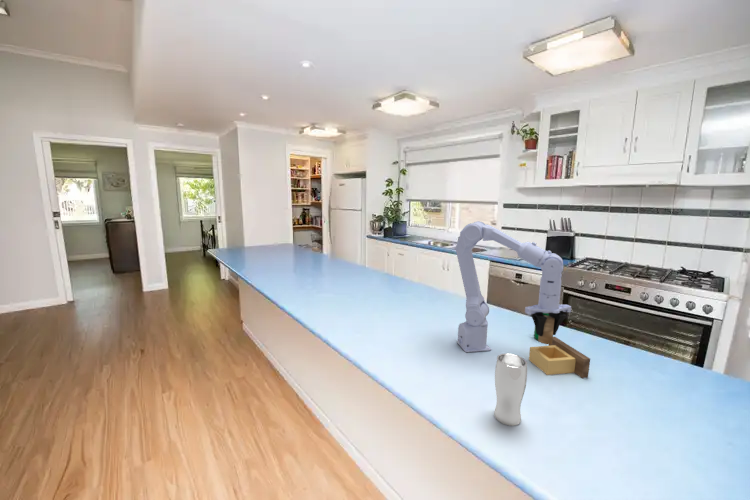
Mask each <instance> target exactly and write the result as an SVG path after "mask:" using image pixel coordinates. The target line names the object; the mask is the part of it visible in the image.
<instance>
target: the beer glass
mask: <svg viewBox="0 0 750 500" xmlns="http://www.w3.org/2000/svg"><path fill="white" fill-rule="evenodd" d="M494 369H495V370H494V371H495V372H494V385H495V393H496V395H495V396H496V404H495V407H494V411H493V416H494V418H495V419H496V420H497V421H498V422H499V423H500V424H503V425H505V426H510V427H514V426H515V427H516V426H519V424H521V422H522V414H521V404H522V401H523V397H524V395H525V391H526V387H527V382H528V381H527V380H528V361H527V360H526V359H525V358H524V357H523V356H520V355H517V354H514V353H501V354H499V355H498V356H497V358H496V364H495V368H494Z"/></svg>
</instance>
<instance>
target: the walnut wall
mask: <svg viewBox="0 0 750 500" xmlns="http://www.w3.org/2000/svg"><path fill="white" fill-rule="evenodd" d="M551 345H556V346H557V347H559V348H560V349H562V350H563V351H565V352H566V353H568V354H569V355H571V356H572V357H574V358H575V359H576V362H575V371H574V373H575V375H577V376H578V377H580V378H582V379H584V378H585V379H587V378H589V374H590V373H589V371H590V363H591V358H590V357H588V356H586V354H584V353H582V352H580V350H579V351H578V350H577V349H576V348H574V347H572V346H570V344H567V343H566V342H565V341H563V340H561V339H559V338H558V337H557V336H553V340H552V344H548V346H551ZM574 373H573V374H574Z"/></svg>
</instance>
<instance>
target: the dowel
mask: <svg viewBox="0 0 750 500" xmlns="http://www.w3.org/2000/svg"><path fill="white" fill-rule="evenodd" d="M544 316H545V317H547V320H546V322H545V325H544V330H543V335H542V336H538V340H537V341H538V342H539V343H541V344H545V345H549V344H552V340H553V337H554V335H553V330H554V319H555V318H553V317H551V316H547V315H544Z"/></svg>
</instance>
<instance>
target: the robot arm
mask: <svg viewBox="0 0 750 500" xmlns="http://www.w3.org/2000/svg"><path fill="white" fill-rule="evenodd" d="M481 240H482V241H483V242H487V241H494V242H496V243H498V244H500V245H502V246H505V247H506V248H509V249H510V250H512V251H514V252H516V253H517V257H518V258H519V259H522V260H523V261H525V262H527V263H529V264H530V265H533V266H534V267H536V268H540V269H541V277H540V282H539V291H538V304H534V305H530V306H525V308H524V313H525V314H527V315H528V316H531V318H532V321H533V324H534V329H535V328H536V334H538V335H539V336H542V335H543V330H544V325H545V322H546V320H547V317H545V316H544V314H543V313H549V316H551V317H553V318H555V319H554V330H553V336H556V334H557V331H558V330H559V327H560V326H561V324H562V322H563V321H564V320H565V319H566V317H567V315H566V313H572V306H571V305H569V304H562V303H561V304H560V302H561V301H560V300H561V292H562V291H561V289H562V283H563V282H562V281H563V280H562V276H563V274H562V272H563V271H564V260H563V258H562V257H561V256H560V255H558V254H557V253H554V252H553V253H552V251H551V250H550V249H549V250H546V249H544V248H542V247H540V246H538V245H537V242H535V241H532V242H530V241H525V242H521V241H519V240H518V239H517V238H514V237H513V236H511V235H510V234H507V233H506V232H504V231H502V230H500V229H499V228H496V227H494V226H492V225H490V224H486V223H484V222H483V221H481V220H477V221H474V222H472V223H468V224H466V225H465V226H464V227H463V228H462V229H461V231H460V232H459V238H458V240H457V242H456V245H455V253H456V257H457V262H458V265H459V266H458V267H459V270H460V273H461V274H460V275H461V280H462V284H463V287H464V293H465V296H466V297H465V298H466V300H465V310H466V311H465V314H464V317H465V320H466V321H464V322H460V323H459V325H458V328H457V329H458V330H457V341H456V343H457V344H458V345H459V347H460V348H461V349H462V350H463V351H464V352H465V353H471V352H472V353H473V352H475V353H476V352H485V351H489V352H490V351H491V350H492V348H491V347H490V346H488V344H487V340H488V325H489V323H488V320H487V318H486V317H487V316H488V315H489V314H490V306H489V305H488V304H487V302H486V301H485V298H484V295H483V294H482V292H481V291H482V290H481V287H480V283H479V277H478V274H477V269H476V264H475V261H474V260H475V259H474V256H473V249H475V247H476V245H477V244H478V243H479V242H480V241H481Z"/></svg>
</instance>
